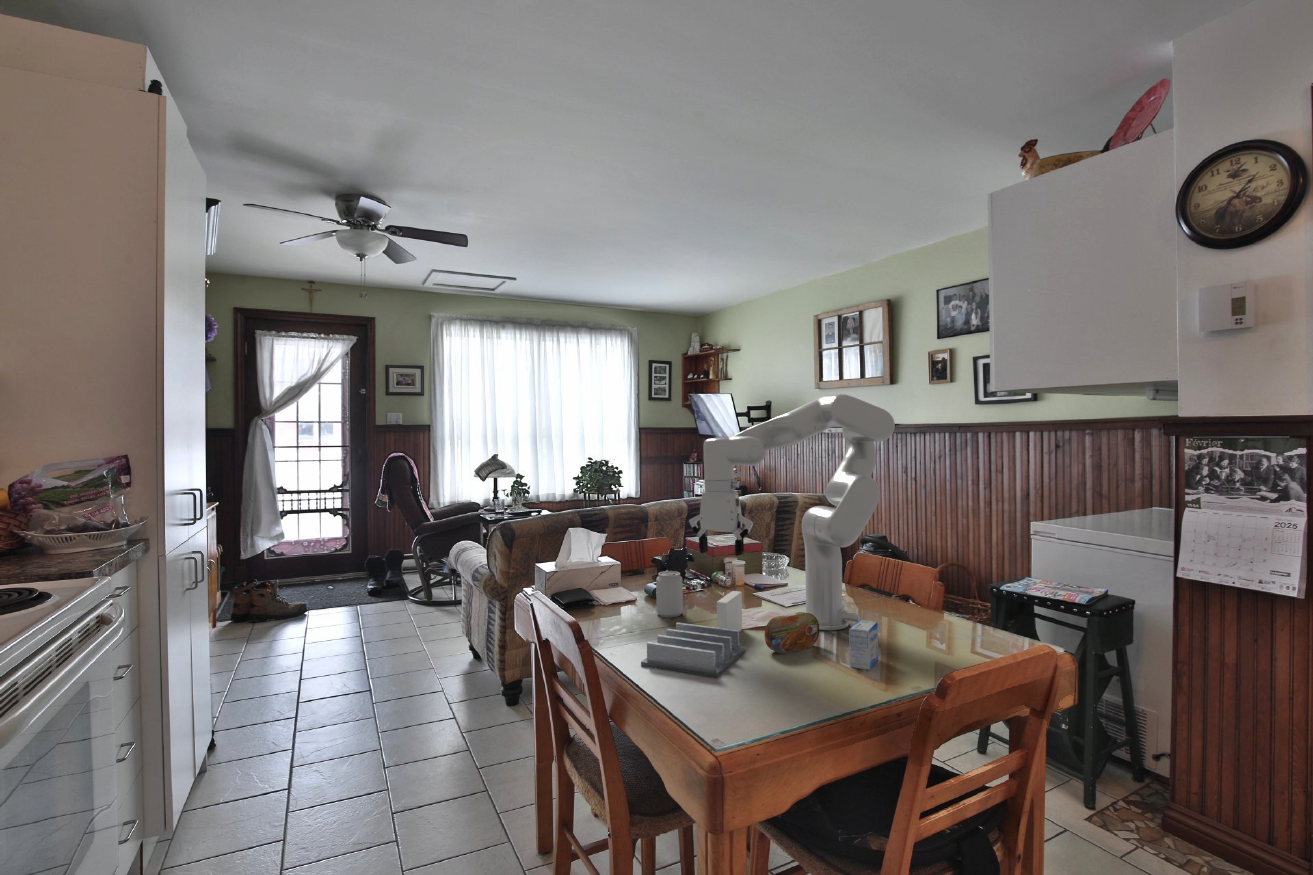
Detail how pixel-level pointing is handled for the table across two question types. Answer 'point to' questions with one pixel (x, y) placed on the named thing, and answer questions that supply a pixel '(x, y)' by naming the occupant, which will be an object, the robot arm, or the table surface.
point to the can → (669, 594)
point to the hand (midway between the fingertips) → (721, 553)
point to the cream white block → (730, 611)
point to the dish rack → (694, 650)
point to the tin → (792, 632)
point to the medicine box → (863, 644)
